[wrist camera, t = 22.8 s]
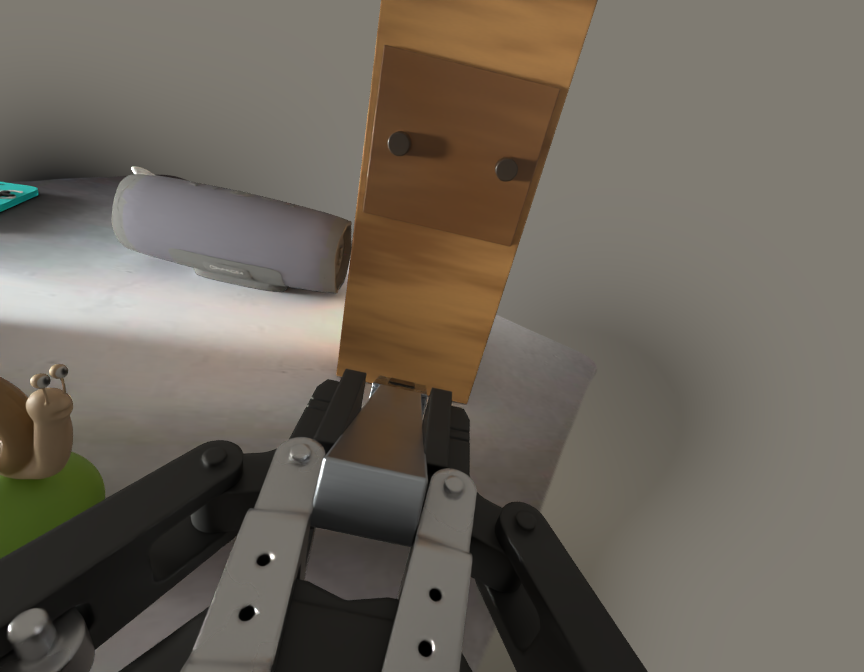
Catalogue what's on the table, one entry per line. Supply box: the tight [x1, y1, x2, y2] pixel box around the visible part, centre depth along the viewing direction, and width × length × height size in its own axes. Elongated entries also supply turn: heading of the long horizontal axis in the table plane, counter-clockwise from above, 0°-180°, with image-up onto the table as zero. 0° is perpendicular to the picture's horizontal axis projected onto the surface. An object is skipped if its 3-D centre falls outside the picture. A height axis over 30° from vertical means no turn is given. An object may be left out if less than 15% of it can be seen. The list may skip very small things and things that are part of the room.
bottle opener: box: [310, 375, 428, 547], centre depth 19 cm, size 19×3×2 cm
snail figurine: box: [0, 364, 105, 559], centre depth 18 cm, size 5×6×12 cm
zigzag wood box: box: [336, 0, 598, 404], centre depth 35 cm, size 17×12×34 cm
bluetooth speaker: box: [112, 174, 352, 293], centre depth 47 cm, size 23×9×10 cm, turn 87°
